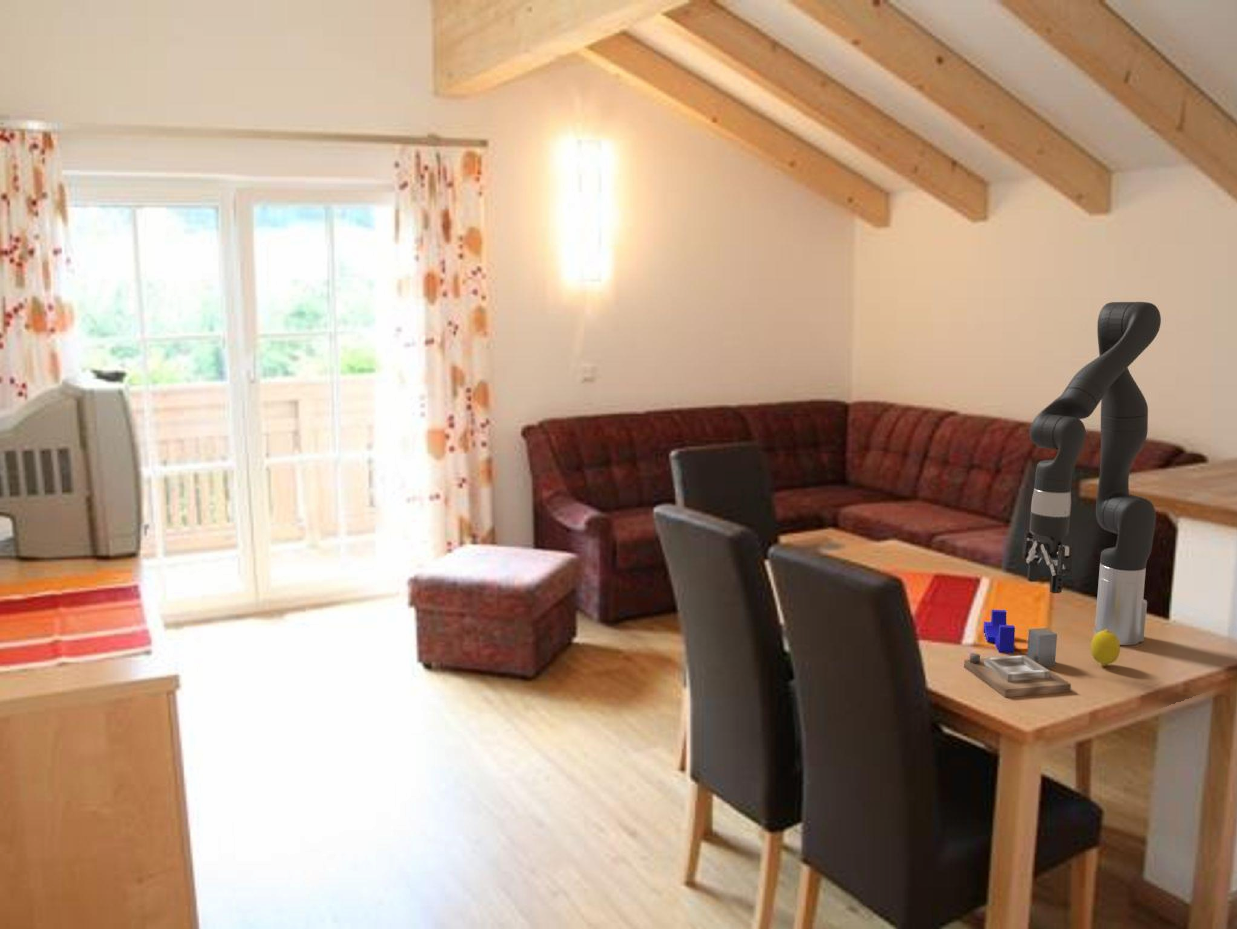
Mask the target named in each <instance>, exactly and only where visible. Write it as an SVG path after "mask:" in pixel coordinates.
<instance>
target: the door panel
mask: <svg viewBox="0 0 1237 929" xmlns="http://www.w3.org/2000/svg"><path fill="white" fill-rule="evenodd" d="M963 668H965V669H966V670H967V671H969V673H971V674H973V675H974V676H976V677H977V678H978V679H979V680H981V681H982V682H984V683H985V684H986V685H988V686H989V687H990V688H991V689H993V690H994V691H995V692H997V693H998V694H1000V695H1001V696H1002V697H1003V698H1011V697H1013V698H1014V697H1015V698H1016V697H1023V696H1025V697H1027V696H1035V695H1036V696H1037V695H1048V694H1062V693H1070V692H1071V688H1072V684H1071V683H1070V682H1068V681H1067V680H1065V679H1064V678H1062V677H1061V676H1059V675H1057V674H1056V673H1054V672H1052V671H1051V670H1050V669H1048V668H1047V667H1043V666H1042V665H1040V664H1039V663H1037V662H1035V661H1034V660H1032V659H1031V658H1029V657H1028V656H1027V654H1024V655H1023V654H1022V655H1020V654H1019V655H1010V656H1009V655H1008V656H1007V655H1006V656H996V657H995V656H994V657H985V658H984V657H983V658H981V655H980V654H979V653H973V652H972V653H969V659H964V661H963Z"/></svg>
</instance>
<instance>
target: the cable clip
mask: <svg viewBox="0 0 1237 929" xmlns="http://www.w3.org/2000/svg"><path fill="white" fill-rule="evenodd" d="M990 614H991V617H990V621H983V629H982V630H983V633H985V636H984V638H985V637H986V638H985V640H987V641H986V643H987V642H994V643H993V644H994V646H995V647H996V649H997V651H998V653H1001V654H1014V652H1015V651H1014V650H1015V635H1016V634H1015V633H1016V627H1015V625H1013V624H1012V625H1011V624H1010V625H1009V624H1008V623H1007V611H1006V609H991V612H990Z"/></svg>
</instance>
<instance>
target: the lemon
mask: <svg viewBox="0 0 1237 929" xmlns="http://www.w3.org/2000/svg"><path fill="white" fill-rule="evenodd" d="M1120 652H1121V645H1120V644H1119V640H1118V638H1117V636H1116V635H1115V634H1113V633H1112V632H1110V631H1109V630H1107V629H1105V630H1104V631H1100V632H1098V633H1097V634H1095V635H1094V634H1093V637H1092V640H1091V642H1090V653H1091V656H1092V658H1093V659H1094V660H1095V661H1096V662H1098V663H1099V664H1100V665H1101V666H1102V667H1106V666H1107V665H1110V664H1113V663H1114V662H1115V661H1117V659H1118V658H1119V655H1120Z"/></svg>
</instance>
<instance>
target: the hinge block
mask: <svg viewBox="0 0 1237 929" xmlns="http://www.w3.org/2000/svg"><path fill="white" fill-rule="evenodd" d="M1027 636H1028V638H1027V651H1026V656H1028V657H1029V658H1031V659H1032V660H1034V661H1035V662H1037V663H1039V664H1040V665H1042V666H1043V667H1045V668H1047V667H1048V668H1049V667H1055V666H1056V654H1057V640H1058V634H1057V633H1055V632H1054V631H1053V630H1050V629H1048V628H1047V627H1042V628H1041V627H1040V628H1029V629H1028V635H1027Z"/></svg>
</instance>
